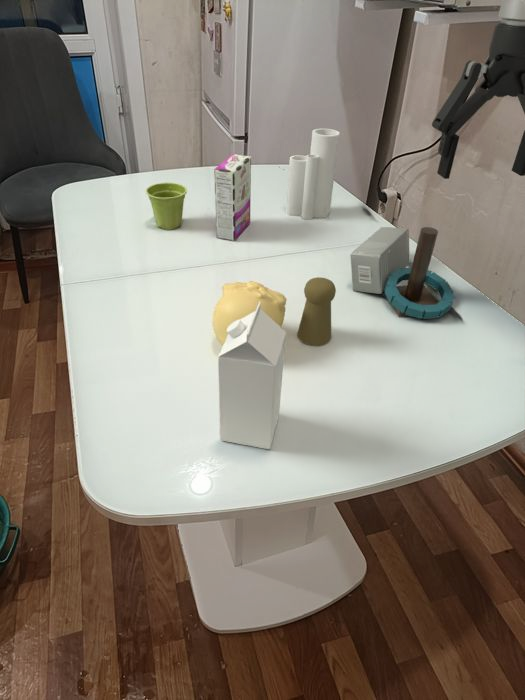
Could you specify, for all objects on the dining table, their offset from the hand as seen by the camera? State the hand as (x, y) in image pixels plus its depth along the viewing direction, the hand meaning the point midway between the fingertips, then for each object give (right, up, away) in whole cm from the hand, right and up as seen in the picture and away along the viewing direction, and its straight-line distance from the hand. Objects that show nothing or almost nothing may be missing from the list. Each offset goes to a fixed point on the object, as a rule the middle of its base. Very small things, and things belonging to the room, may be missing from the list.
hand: (480, 174), depth 84 cm
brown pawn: (-27, -27, +6) cm, 38 cm away
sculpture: (-39, -28, +4) cm, 48 cm away
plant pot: (-59, +1, +40) cm, 71 cm away
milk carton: (-38, -40, -12) cm, 57 cm away
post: (-7, -20, +16) cm, 26 cm away
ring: (-6, -18, +14) cm, 24 cm away
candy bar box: (-43, 0, +38) cm, 58 cm away
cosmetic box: (-17, -15, +15) cm, 27 cm away
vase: (-24, +6, +48) cm, 54 cm away
